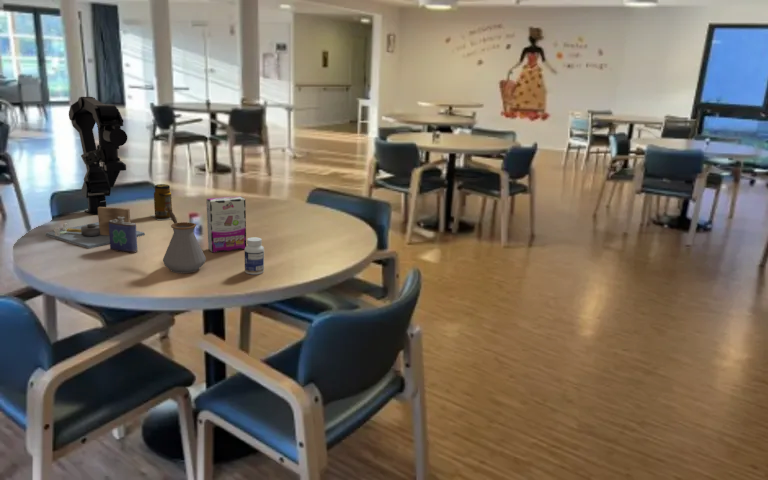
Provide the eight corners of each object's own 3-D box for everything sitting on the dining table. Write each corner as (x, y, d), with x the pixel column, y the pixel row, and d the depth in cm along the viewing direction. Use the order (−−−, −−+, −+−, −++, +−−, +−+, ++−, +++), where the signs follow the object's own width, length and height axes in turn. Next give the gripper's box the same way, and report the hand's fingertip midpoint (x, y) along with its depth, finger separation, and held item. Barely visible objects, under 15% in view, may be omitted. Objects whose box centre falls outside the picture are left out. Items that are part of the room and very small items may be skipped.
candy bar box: (241, 245, 189) (241, 195, 185) (246, 249, 185) (246, 198, 181) (207, 248, 183) (205, 197, 179) (211, 253, 179) (210, 201, 175)
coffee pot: (211, 272, 163) (210, 220, 159) (169, 278, 157) (167, 224, 152) (189, 251, 180) (187, 204, 176) (150, 255, 173) (147, 206, 169)
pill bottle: (246, 268, 168) (245, 236, 165) (264, 269, 168) (265, 236, 165) (243, 274, 162) (243, 241, 160) (262, 275, 163) (262, 242, 160)
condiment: (169, 213, 222) (168, 182, 219) (177, 218, 216) (176, 187, 212) (150, 215, 217) (148, 184, 214) (157, 221, 211) (156, 188, 208)
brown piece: (62, 234, 185) (59, 206, 182) (72, 229, 190) (70, 202, 188) (126, 238, 184) (124, 211, 182) (134, 233, 190) (132, 207, 187)
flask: (139, 251, 177) (137, 217, 174) (133, 254, 174) (130, 219, 171) (113, 247, 179) (111, 213, 176) (107, 250, 176) (104, 215, 173)
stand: (45, 235, 186) (44, 225, 185) (101, 223, 203) (101, 214, 202) (89, 248, 176) (88, 238, 175) (144, 235, 193) (144, 225, 192)
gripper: (76, 139, 201) (79, 184, 205) (88, 146, 187) (92, 194, 191) (110, 138, 207) (113, 182, 212) (125, 145, 193) (128, 191, 198)
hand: (111, 187), depth 203 cm, fingers closed
